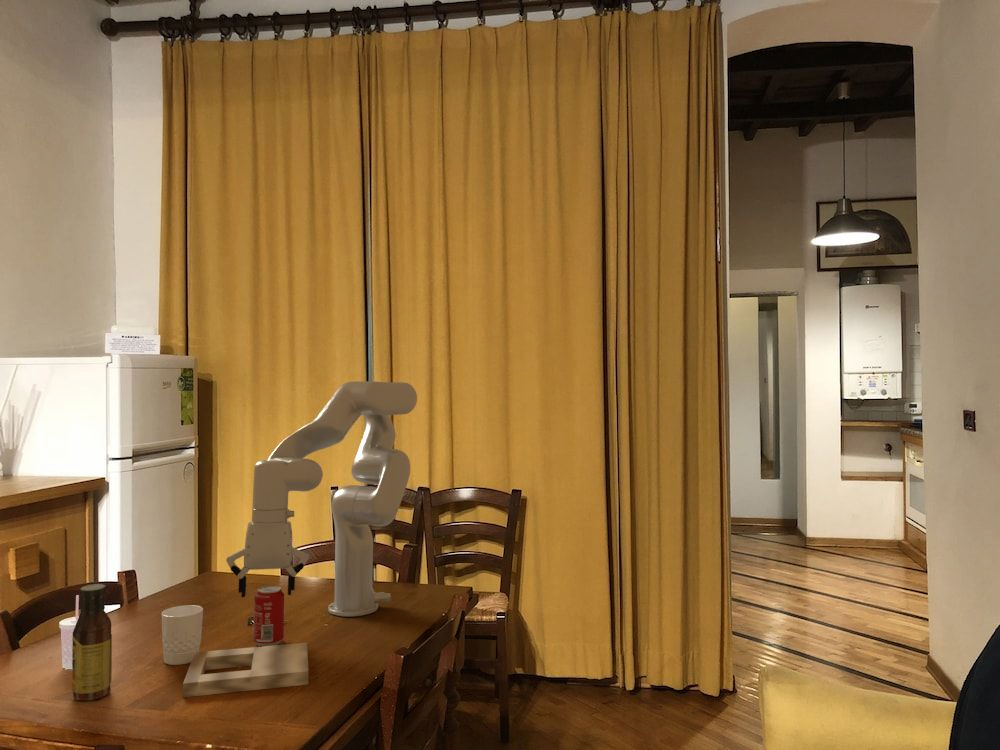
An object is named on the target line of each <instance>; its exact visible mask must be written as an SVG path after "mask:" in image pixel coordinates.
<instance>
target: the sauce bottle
mask: <svg viewBox="0 0 1000 750" xmlns="http://www.w3.org/2000/svg"><path fill="white" fill-rule="evenodd" d="M106 588H107V587H106V585H105V584H103V583H94V584H87V585H84V586H82V587H81V588H79V589H80V592H79V598H80V609H79V610H80V611H79V612H80V613H79V614H78V616H79V618H78V620H77V623H76V625H75V628H74V631H73V637H72V640H73V647H72V648H73V649H72V670H71V690H72V694H73V695H72V696H73V698H74V700H75V701H82V702H86V701H87V702H89V701H95V700H96V701H97V700H99V699H102V698H103V697H105V696H107V695H109V693H110V692H111V683H112V680H113V679H112V677H113V676H112V673H113V670H112V669H113V667H112V666H113V665H112V663H113V660H112V657H113V654H112V653H113V644H112V643H113V642H112V641H113V640H112V639H113V634H112V621H111V618H110V617H109V615H108V614H107V613H106V610H105V608H106V607H105V595H106Z"/></svg>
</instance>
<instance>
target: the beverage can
mask: <svg viewBox="0 0 1000 750" xmlns="http://www.w3.org/2000/svg"><path fill="white" fill-rule="evenodd" d="M253 598H254V600H253V642H254V643H255V644H256V645H257V647H260V646H274V645H277V644H278V645H280V643H281V642H282V641H283V639H284V637H285V635H284V634H285V633H284V631H285V593H284V592H283V591H282V587H281V586H278V585H266V586H262V587H259V588H257V591H256V594H255V595H254V597H253Z"/></svg>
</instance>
